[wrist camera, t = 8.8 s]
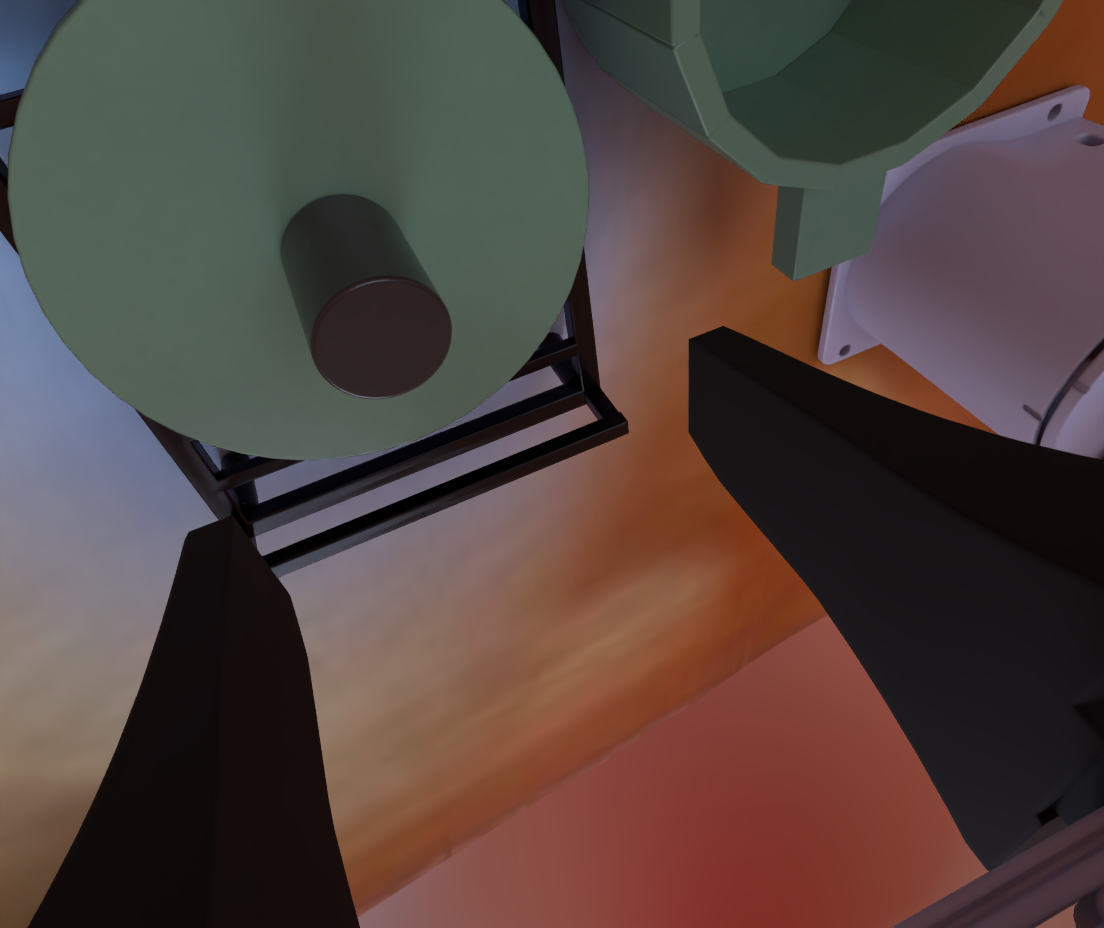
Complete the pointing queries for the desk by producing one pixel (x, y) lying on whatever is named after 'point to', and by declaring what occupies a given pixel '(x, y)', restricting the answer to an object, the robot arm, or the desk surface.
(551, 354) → the rack
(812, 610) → the desk surface
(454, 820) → the desk surface
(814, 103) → the pot
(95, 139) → the lid
